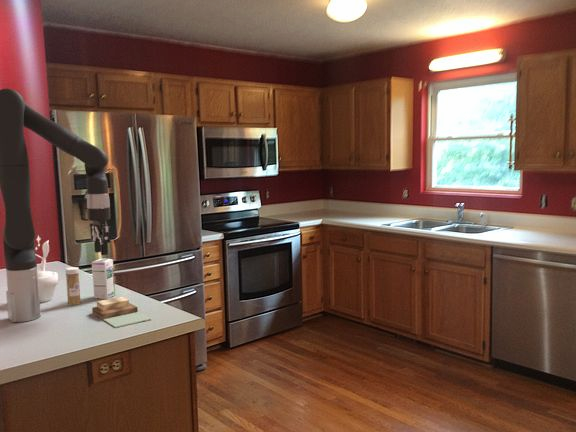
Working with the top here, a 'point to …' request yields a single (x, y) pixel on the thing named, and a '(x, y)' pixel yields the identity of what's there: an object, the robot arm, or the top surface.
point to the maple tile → (112, 303)
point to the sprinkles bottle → (73, 285)
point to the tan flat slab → (114, 311)
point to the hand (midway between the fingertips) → (101, 253)
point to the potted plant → (46, 276)
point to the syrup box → (103, 278)
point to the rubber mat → (127, 319)
